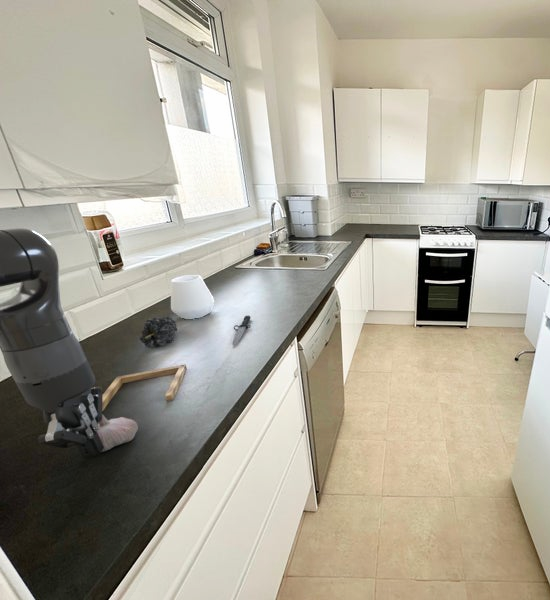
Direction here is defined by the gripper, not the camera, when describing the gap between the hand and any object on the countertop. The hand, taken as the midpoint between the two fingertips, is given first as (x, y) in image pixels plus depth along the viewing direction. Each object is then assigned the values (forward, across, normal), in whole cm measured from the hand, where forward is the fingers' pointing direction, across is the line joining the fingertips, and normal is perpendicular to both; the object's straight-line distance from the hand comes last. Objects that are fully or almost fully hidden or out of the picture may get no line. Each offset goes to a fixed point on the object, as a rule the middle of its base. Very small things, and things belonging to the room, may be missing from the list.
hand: (94, 453), depth 53 cm
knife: (+2, -46, +18) cm, 50 cm away
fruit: (+2, -50, -3) cm, 50 cm away
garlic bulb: (+3, -5, 0) cm, 6 cm away
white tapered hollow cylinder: (+2, -68, +2) cm, 68 cm away
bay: (+2, -21, 0) cm, 21 cm away
